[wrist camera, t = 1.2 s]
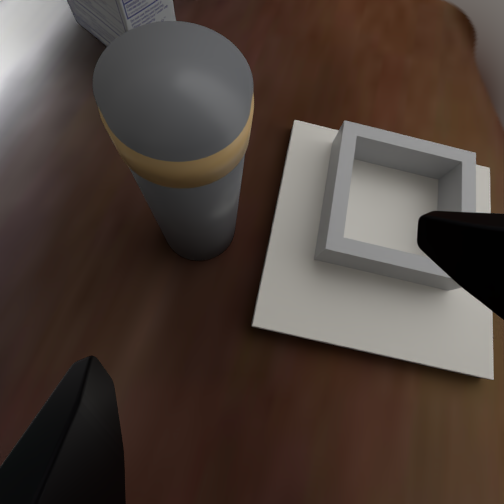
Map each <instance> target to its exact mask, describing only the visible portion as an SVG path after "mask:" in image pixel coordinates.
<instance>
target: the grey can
mask: <svg viewBox="0 0 504 504" xmlns="http://www.w3.org/2000/svg"><path fill="white" fill-rule="evenodd" d="M93 92H94V97H95V100H96V103H97V105H98V109H99V114H100V117H101V120H102V122H103V124H104V126H105V128H106V130H107V132H108V134H109V135H110V137H111V139H112V141H113V143H114V145H115V147H116V149H117V151H118V153H119V154H120V156H121V158H122V159H123V161H124V162H125V163H126V165H127V166H128V167H129V168H130V170H131V172H132V174H133V176H134V178H135V180H136V182H137V184H138V186H139V188H140V190H141V191H142V193H143V195H144V197H145V199H146V201H147V203H148V205H149V207H150V209H151V211H152V213H153V215H154V217H155V219H156V221H157V223H158V225H159V227H160V229H161V231H162V233H163V235H164V237H165V239H166V241H167V242H168V244H169V246H170V247H171V248H172V249H173V250H174V251H175V252H176V253H177V254H179V255H180V256H182V257H184V258H187V259H190V260H197V261H201V260H208V259H211V258H214V257H216V256H218V255H220V254H221V253H222V252H224V251H225V250H226V249H227V248H228V246H229V245H230V243H231V241H232V239H233V237H234V232H235V225H236V218H237V210H238V202H239V195H240V187H241V180H242V172H243V164H244V157H245V152H246V150H247V147H248V144H249V138H250V131H251V124H252V117H253V110H254V96H253V79H252V74H251V70H250V67H249V65H248V63H247V61H246V59H245V58H244V56H243V55H242V53H241V52H240V51H239V50H238V48H237V47H236V46H235V45H234V44H233V43H231V42H230V41H229V40H228V39H226V38H225V37H224V36H222V35H221V34H219V33H217V32H215V31H213V30H211V29H209V28H206V27H204V26H200V25H197V24H193V23H188V22H180V21H161V22H154V23H149V24H145V25H142V26H138V27H136V28H133V29H131V30H129V31H127V32H125V33H124V34H122V35H120V36H119V37H118V38H116V39H115V40H114V41H113V42H112V43H110V44H109V45H108V46H107V48H106V49H105V50H104V51H103V53H102V54H101V56H100V58H99V59H98V61H97V64H96V66H95V69H94V74H93Z"/></svg>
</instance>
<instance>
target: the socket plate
mask: <svg viewBox="0 0 504 504" xmlns="http://www.w3.org/2000/svg"><path fill="white" fill-rule="evenodd" d="M431 211H454V212H475V213H491V209H490V168H488V167H483V166H479V165H476V153H474V152H470V151H466V150H462V149H458V148H454V147H450V146H446V145H442V144H438V143H434V142H430V141H426V140H422V139H418V138H414V137H409V136H405V135H401V134H397V133H393V132H389V131H385V130H381V129H377V128H373V127H369V126H365V125H361V124H357V123H353V122H349V121H344V122H343V124H342V126H341V128H340V130H339V131H338V130H334V129H330V128H326V127H322V126H318V125H314V124H310V123H306V122H302V121H298V120H294V123H293V126H292V130H291V135H290V140H289V145H288V149H287V154H286V159H285V164H284V169H283V174H282V178H281V183H280V188H279V193H278V198H277V203H276V207H275V212H274V217H273V222H272V227H271V232H270V236H269V241H268V246H267V251H266V256H265V260H264V265H263V270H262V275H261V280H260V285H259V289H258V294H257V299H256V304H255V309H254V314H253V318H252V323H251V327H255V328H259V329H264V330H268V331H273V332H277V333H282V334H286V335H291V336H295V337H300V338H304V339H308V340H313V341H317V342H322V343H326V344H331V345H335V346H340V347H344V348H349V349H353V350H358V351H362V352H366V353H371V354H375V355H380V356H384V357H389V358H393V359H398V360H402V361H407V362H411V363H416V364H420V365H424V366H429V367H433V368H438V369H442V370H447V371H451V372H456V373H460V374H465V375H469V376H474V377H478V378H483V379H491V380H494V374H493V319H492V310H490V309H489V308H488V307H486V306H485V305H484V304H482V303H481V302H480V301H479V300H477V299H476V298H475V297H473V296H472V295H471V294H470V293H468V292H467V291H466V290H464V289H463V288H462V287H461V286H460V285H458V284H457V283H456V282H455V281H454V280H453V279H452V278H451V277H450V276H448V275H447V274H446V273H445V272H444V271H443V270H442V269H441V268H440V267H439V266H438V265H437V264H436V263H434V262H433V261H432V260H431V259H430V258H429V257H428V256H427V255H426V254H425V253H424V252H423V251H422V250H421V249H420V248H419V247H418V244H417V229H418V220H419V218H420V216H422V215H424V214H426V213H428V212H431Z"/></svg>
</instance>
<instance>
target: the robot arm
mask: <svg viewBox="0 0 504 504" xmlns="http://www.w3.org/2000/svg"><path fill="white" fill-rule="evenodd" d="M417 244H418V247H419V248H420V249H421V250H422V251H423V252H424V253H425V254H426V255H427V256H428V257H429V258H430V259H431V260H432V261H433V262H434V263H436V264H437V265H438V266H439V267H440V268H441V269H442V270H443V271H444V272H445V273H446V274H447V275H448V276H450V277H451V278H452V279H453V280H454V281H455V282H456V283H457V284H458V285H460V286H461V287H462V288H463V289H464V290H466V291H467V292H468V293H470V294H471V295H472V296H473V297H475V298H476V299H477V300H479V301H480V302H481V303H482V304H484V305H485V306H486V307H488V308H489V309H490V310H492V311H493V312H494V313H495V314H497V315H498V316H499V317H501V318H502V319H503V320H504V214H495V213H475V212H454V211H431V212H428V213H426V214H424V215H422V216H420V218H419V220H418V229H417ZM0 504H126V503H125V469H124V450H123V442H122V435H121V428H120V421H119V415H118V408H117V401H116V395H115V388H114V384H113V381H112V379H111V377H110V375H109V374H108V373H107V371H106V370H105V369H104V367H103V366H102V364H101V363H100V362H99V360H98V359H97V358H96V357H95V356H89V357H86V358H84V359H81V360H79V361H77V362H75V363H74V364H73V365H72V366H71V367H70V369H69V370H68V372H67V373H66V375H65V376H64V377H63V379H62V380H61V382H60V383H59V384H58V386H57V387H56V389H55V390H54V392H53V393H52V394H51V396H50V397H49V399H48V400H47V401H46V403H45V404H44V406H43V407H42V409H41V410H40V411H39V413H38V414H37V416H36V417H35V418H34V420H33V421H32V423H31V424H30V426H29V427H28V428H27V430H26V431H25V433H24V434H23V436H22V437H21V438H20V440H19V441H18V443H17V444H16V445H15V447H14V448H13V450H12V451H11V453H10V454H9V455H8V457H7V458H6V460H5V461H4V462H3V464H2V465H1V467H0Z"/></svg>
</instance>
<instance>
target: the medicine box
mask: <svg viewBox="0 0 504 504" xmlns="http://www.w3.org/2000/svg"><path fill="white" fill-rule="evenodd" d="M67 2H68V4H69V6H70V8H71V10H72V12H73V15H74V17H75V19H76V21H77V22H78V23H79V24H80V25H81V26H83V27H84V28H85V29H86V30H88V31H89V32H90V33H91V34H93V35H94V36H95V37H96V38H97V39H99V40H100V41H101V42H102V43H104V44H105V45H106V46H108V45H109V44H110V43H112V42H113V41H114V40H115V39H116V38H118V37H119V36H120V35H122V34H124V33H125V32H127V31H129V30H131V29H133V28H136V27H138V26H142V25H145V24H149V23H154V22H161V21H176V19H175V13H174V6H173V0H67Z"/></svg>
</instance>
